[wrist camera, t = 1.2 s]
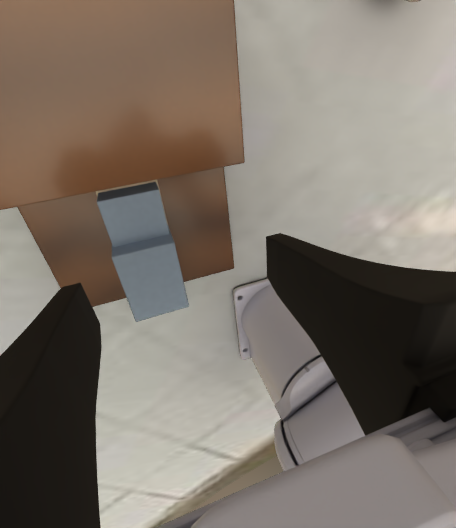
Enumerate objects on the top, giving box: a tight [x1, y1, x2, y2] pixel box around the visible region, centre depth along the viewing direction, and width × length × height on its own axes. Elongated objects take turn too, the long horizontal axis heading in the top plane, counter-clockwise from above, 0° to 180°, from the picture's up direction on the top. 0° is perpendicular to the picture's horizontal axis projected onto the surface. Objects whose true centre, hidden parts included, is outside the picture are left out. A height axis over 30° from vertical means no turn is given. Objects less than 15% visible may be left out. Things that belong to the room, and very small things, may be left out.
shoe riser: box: [0, 0, 244, 307], centre depth 16 cm, size 18×12×6 cm, turn 6°
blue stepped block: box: [95, 180, 189, 322], centre depth 18 cm, size 8×3×4 cm, turn 6°
